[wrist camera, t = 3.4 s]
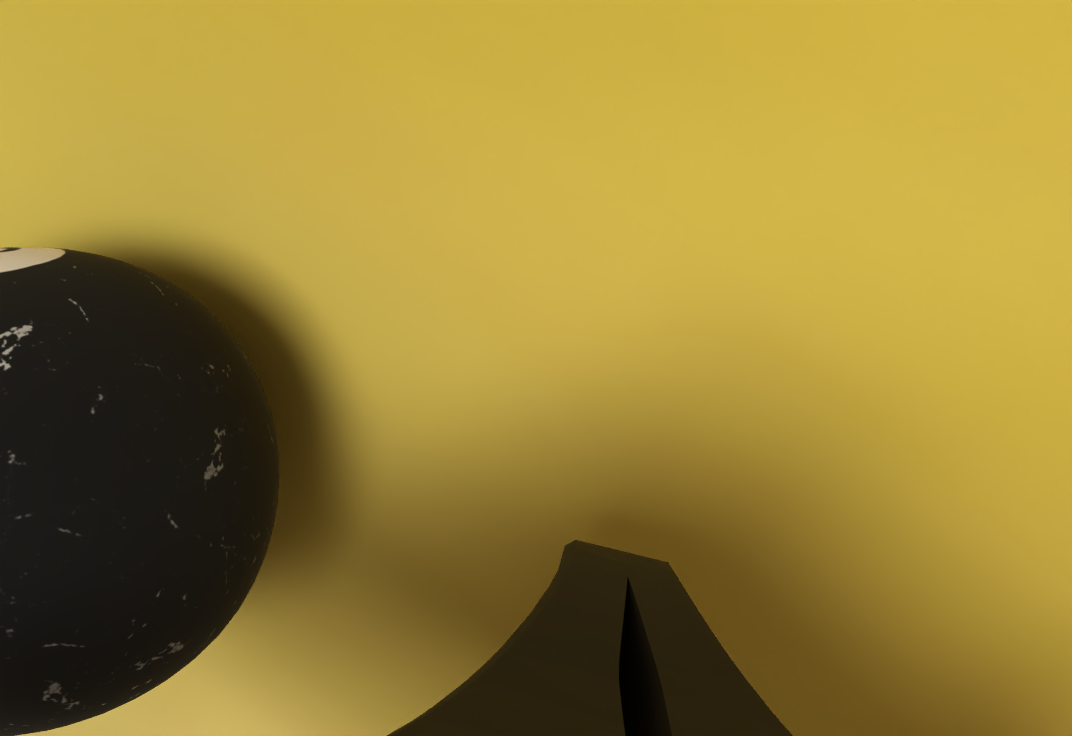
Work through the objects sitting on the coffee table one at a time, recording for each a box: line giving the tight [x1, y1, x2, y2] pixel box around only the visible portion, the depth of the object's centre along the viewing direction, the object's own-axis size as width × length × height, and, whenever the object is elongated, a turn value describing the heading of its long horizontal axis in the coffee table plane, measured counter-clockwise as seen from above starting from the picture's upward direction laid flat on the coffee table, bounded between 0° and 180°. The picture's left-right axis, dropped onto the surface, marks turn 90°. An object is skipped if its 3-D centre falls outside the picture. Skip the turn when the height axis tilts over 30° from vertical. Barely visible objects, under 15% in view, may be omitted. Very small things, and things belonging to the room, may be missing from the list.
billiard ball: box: [0, 247, 279, 736], centre depth 12 cm, size 6×6×6 cm
